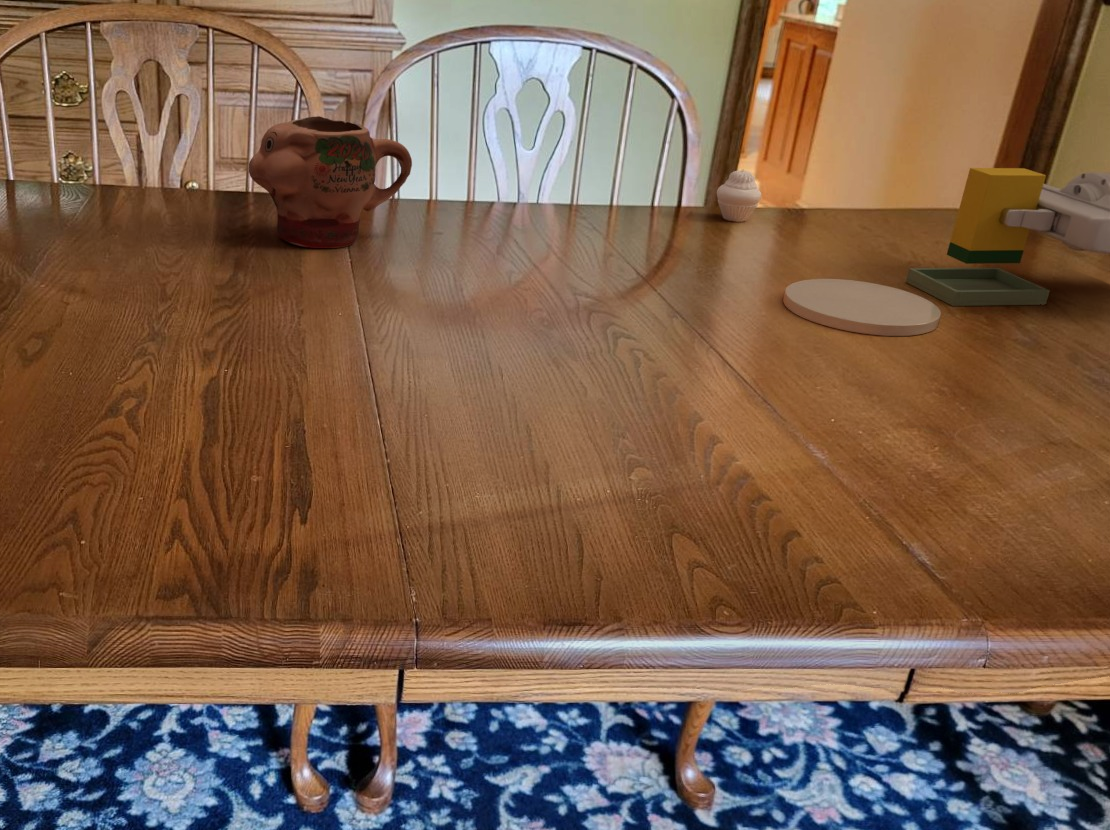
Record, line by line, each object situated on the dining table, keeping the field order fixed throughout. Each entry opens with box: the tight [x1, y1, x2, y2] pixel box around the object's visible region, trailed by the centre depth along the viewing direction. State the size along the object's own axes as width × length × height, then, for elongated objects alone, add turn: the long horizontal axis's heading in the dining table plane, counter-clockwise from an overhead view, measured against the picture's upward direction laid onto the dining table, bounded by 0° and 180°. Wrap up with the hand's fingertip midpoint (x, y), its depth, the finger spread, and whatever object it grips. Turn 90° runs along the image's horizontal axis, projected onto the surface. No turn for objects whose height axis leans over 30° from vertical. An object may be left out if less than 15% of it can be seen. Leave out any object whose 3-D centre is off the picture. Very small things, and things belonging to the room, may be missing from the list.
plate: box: [782, 278, 942, 337], centre depth 120 cm, size 16×16×1 cm
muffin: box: [716, 168, 762, 223], centre depth 155 cm, size 6×6×7 cm
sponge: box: [946, 167, 1047, 265], centre depth 124 cm, size 7×4×10 cm, turn 101°
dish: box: [905, 267, 1051, 307], centre depth 128 cm, size 12×9×2 cm
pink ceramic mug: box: [248, 115, 413, 249], centre depth 133 cm, size 20×12×14 cm, turn 112°
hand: (989, 211), depth 124 cm, fingers closed on sponge, 3 cm apart
